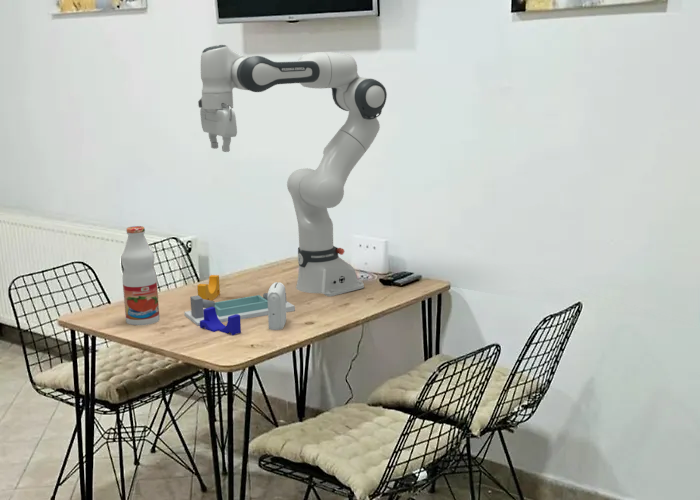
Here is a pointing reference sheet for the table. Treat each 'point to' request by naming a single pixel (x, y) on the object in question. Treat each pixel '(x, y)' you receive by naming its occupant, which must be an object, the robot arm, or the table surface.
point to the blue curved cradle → (215, 325)
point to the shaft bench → (231, 308)
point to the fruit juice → (139, 279)
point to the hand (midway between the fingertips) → (220, 150)
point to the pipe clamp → (209, 288)
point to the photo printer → (276, 306)
